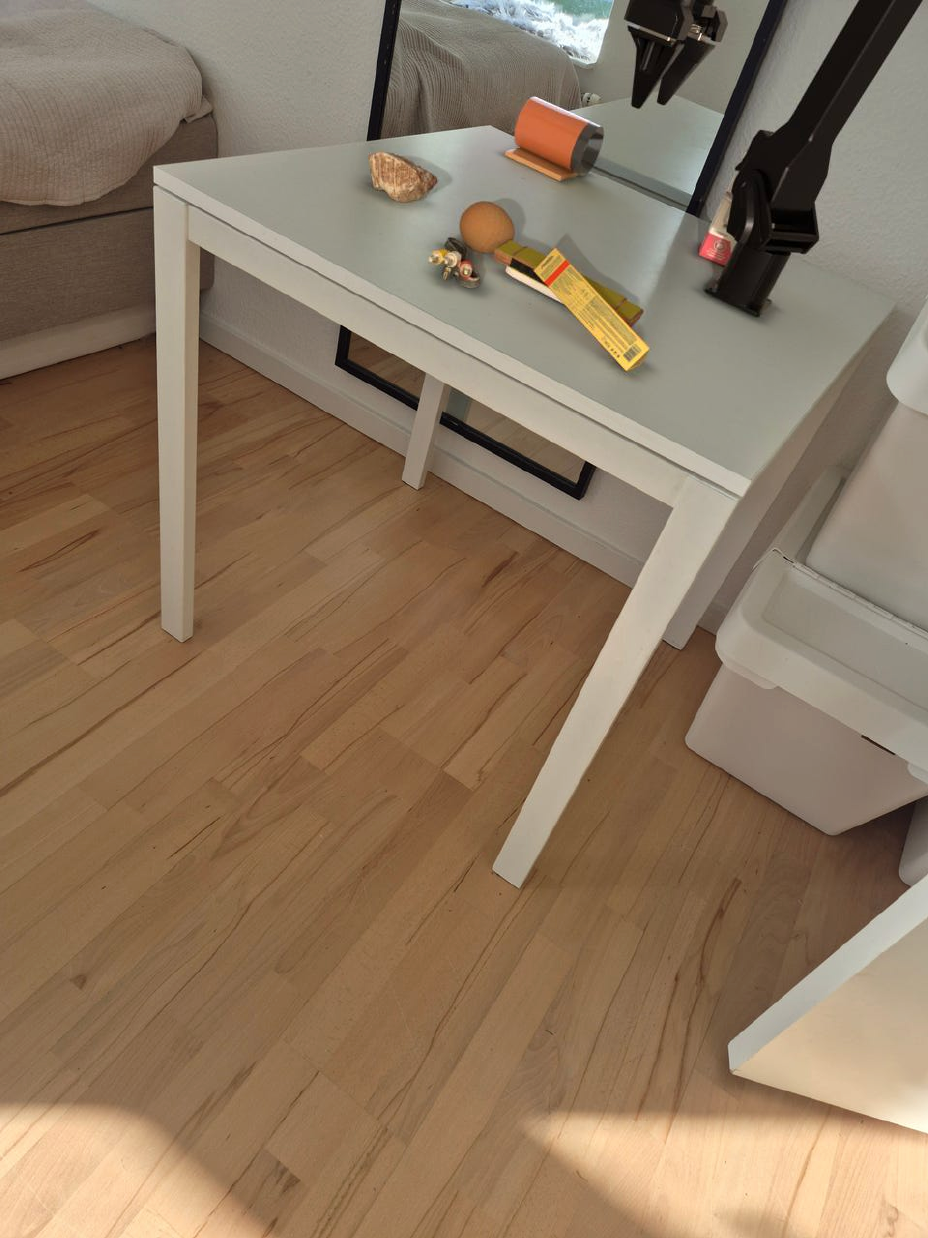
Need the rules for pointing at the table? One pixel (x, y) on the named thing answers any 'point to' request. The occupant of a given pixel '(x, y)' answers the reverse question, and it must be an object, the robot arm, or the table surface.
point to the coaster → (540, 164)
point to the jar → (558, 136)
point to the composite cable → (456, 263)
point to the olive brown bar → (522, 268)
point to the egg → (486, 227)
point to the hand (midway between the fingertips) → (648, 105)
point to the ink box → (720, 231)
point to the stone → (400, 177)
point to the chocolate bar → (592, 310)
